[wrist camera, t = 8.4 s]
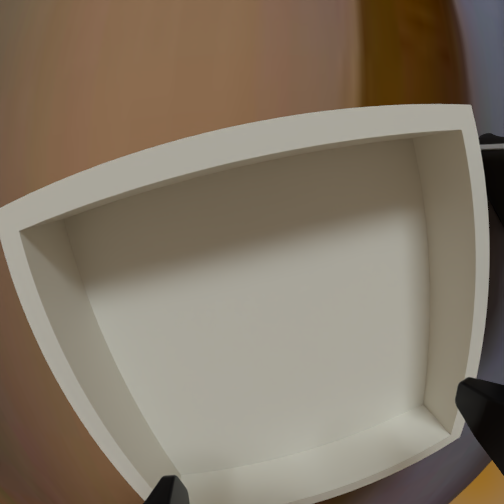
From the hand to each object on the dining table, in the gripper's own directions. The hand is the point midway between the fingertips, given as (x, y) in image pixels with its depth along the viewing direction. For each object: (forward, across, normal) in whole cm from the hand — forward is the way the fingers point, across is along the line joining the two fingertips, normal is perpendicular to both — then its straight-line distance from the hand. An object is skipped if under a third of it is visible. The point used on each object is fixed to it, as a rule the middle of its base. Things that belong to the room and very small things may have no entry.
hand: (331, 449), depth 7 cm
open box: (+8, 0, 0) cm, 8 cm away
